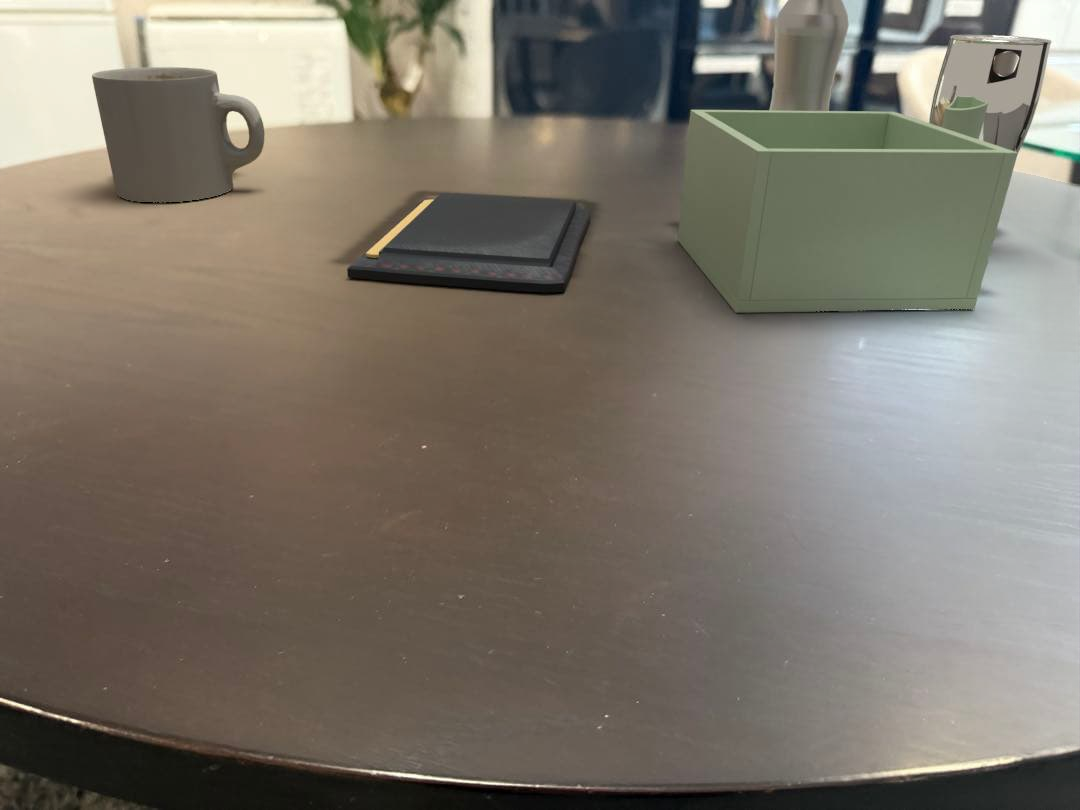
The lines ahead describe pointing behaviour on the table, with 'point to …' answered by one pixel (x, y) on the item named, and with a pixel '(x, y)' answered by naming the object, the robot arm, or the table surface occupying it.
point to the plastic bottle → (807, 53)
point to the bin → (839, 210)
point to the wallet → (480, 244)
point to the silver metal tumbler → (990, 87)
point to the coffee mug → (172, 133)
